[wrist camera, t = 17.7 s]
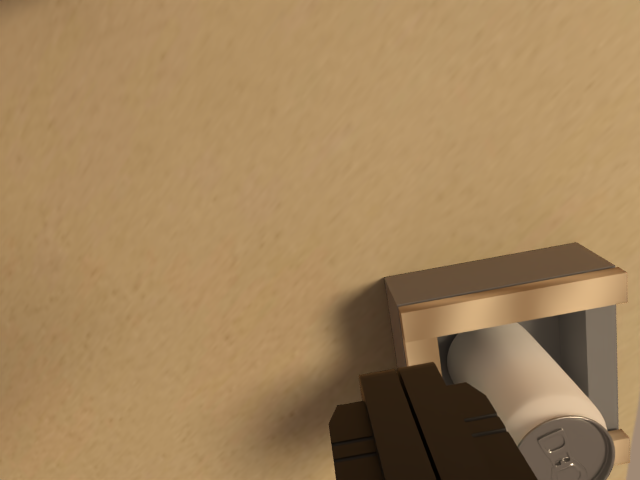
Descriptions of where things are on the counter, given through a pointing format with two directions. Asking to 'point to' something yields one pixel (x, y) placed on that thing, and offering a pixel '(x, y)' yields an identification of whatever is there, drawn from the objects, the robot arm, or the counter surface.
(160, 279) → the counter surface
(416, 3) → the counter surface
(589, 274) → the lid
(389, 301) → the housing
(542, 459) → the can
